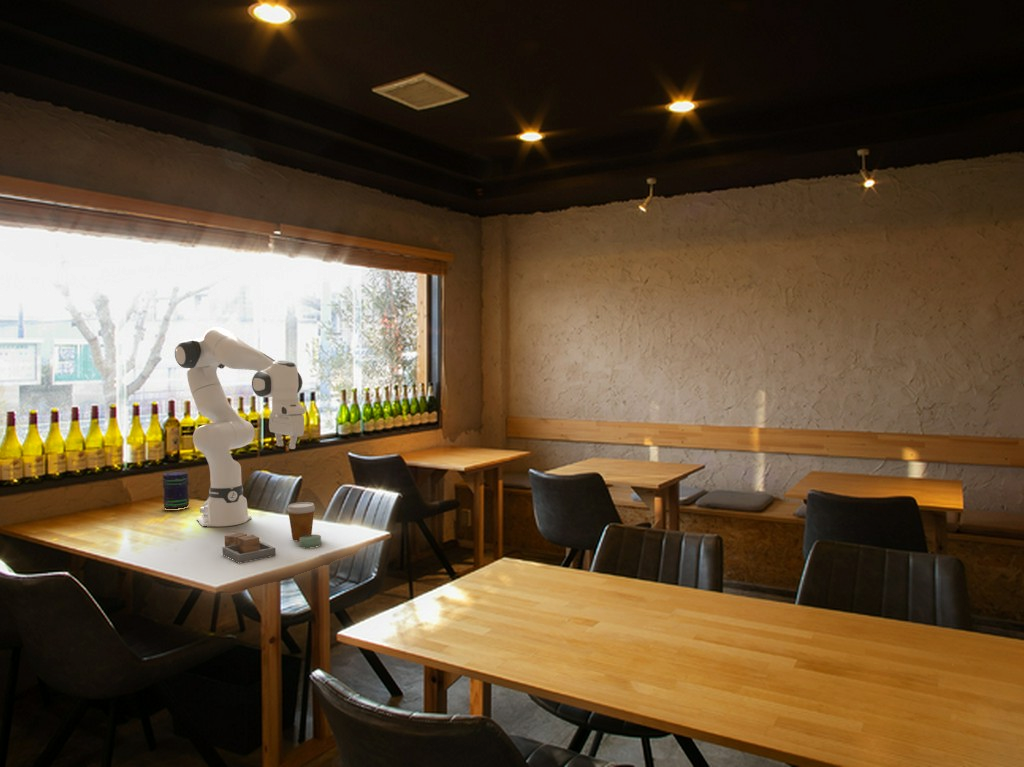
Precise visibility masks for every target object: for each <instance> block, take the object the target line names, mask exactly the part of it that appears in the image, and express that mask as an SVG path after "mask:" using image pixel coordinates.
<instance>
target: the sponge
mask: <svg viewBox="0 0 1024 767" xmlns="http://www.w3.org/2000/svg"><path fill="white" fill-rule="evenodd" d="M298 542H299V548H301V547H305V548H304V549H311V548H310V547H315V548H317V547H316V546H319V545H321V546H322V535H320V534H312V535H304V536H301V537H300V538H299V541H298ZM319 547H320V546H319Z"/></svg>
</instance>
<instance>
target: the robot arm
mask: <svg viewBox="0 0 1024 767" xmlns="http://www.w3.org/2000/svg"><path fill="white" fill-rule="evenodd" d="M174 357H175V361H176V362H177V364H178V365H179V366H180V367H181V368H184V369H187V370H186V371H187V372H186V378H187V382H188V386H189V390H190V392H191V396H192V397H193V398H192V399H193V400H194V403H195V405H196V408H197V411H198V413H199V414H200V415H201V416H203V417H205V418H207V419H208V420H209V421H211V422H209V423H206V424H203V425H201V426H198V427H197V428H196V429H195V430H194V432H193V435H192V443H193V446H194V447H195V449H197V450H198V451H200V452H201V453H202V454H203V455H204V457H205V459H206V461H207V464H208V467H209V475H210V487H209V490H208V497H207V500H205V501H204V503H203V505H202V506H201V507H199V513H200V514H202V515H199V516H197V517H196V519H197V520H198V521H199V522H198V521H197V520H196V521H197V522H198V523H199V525H200V526H201V525H202V526H201V527H203V526H207V527H231V526H236V525H242V524H245V523H246V522H247V521H248V520H251V519H252V515H249V512H248V511H249V510H248V501H247V498H246V497H245V496H244V495H243V494H244V487H243V486H244V485H243V484H242V466H241V464H240V463H239V461H237V460H235V459H233V456H232V454H231V450H235V449H239V448H240V449H241V448H243V447H246V446H247V445H249V444H252V442H253V441H254V439H255V436H256V432H255V431H256V430H255V428H254V426H253V424H252V423H251V422H249V421H247V420H246V419H244V418H243V417H242V416H240V415H239V414H238V413H237V411H236V410H235V409H234V408H233V406H232V405H231V403H230V402H229V400H228V398H227V396H226V394H225V391H224V389H223V386H222V384H221V382H220V378H219V377H218V375H217V374H218V373H217V371H218V368H219V369H224V368H225V367H227V368H228V369H232V370H245V371H246V370H248V371H256V372H255V373H254V375H253V377H252V379H251V388H252V392H254V394H255V395H256V396H257V397H260V398H272V399H271V401H272V402H271V406H272V407H271V408H272V410H271V411H270V413H269V420H268V429H269V430H268V431H269V432H270V433H274V437H275V441H276V446H278V447H283V446H284V440H283V437H282V436H283V435H284V436H288V437H289V440H290V441H289V443H288V449H291V450H295V449H296V444H297V441H298V438H299V437H303V435H304V433H305V416H304V415H305V413H306V409H305V407H304V406H303V405H302V404H301V403H300V402H299V400H300V398H299V395H298V394H299V392H300V391H301V389H302V387H303V379H302V376H301V374H300V373H299V371H298V368H297V365H296V364H295V363H294V362H292V361H289V360H288V361H287V360H277V361H276V360H275V359H273V358H272V357H271V356H268V355H267V354H265V353H263V352H261V351H260V350H257V349H256V348H254V347H252V346H250V345H249V344H248V343H246V342H244V341H243V340H241V339H240V338H239V337H238V336H236V335H235V334H233V333H232V332H230V331H229V330H227V329H225V328H223V327H222V328H221V327H215V326H214V327H211V328H210V329H208V330H206V332H205V334H204V335H203V337H200V338H196V339H187V340H184V341H180V342H179V343H178V344H176V347H175V348H174Z"/></svg>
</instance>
